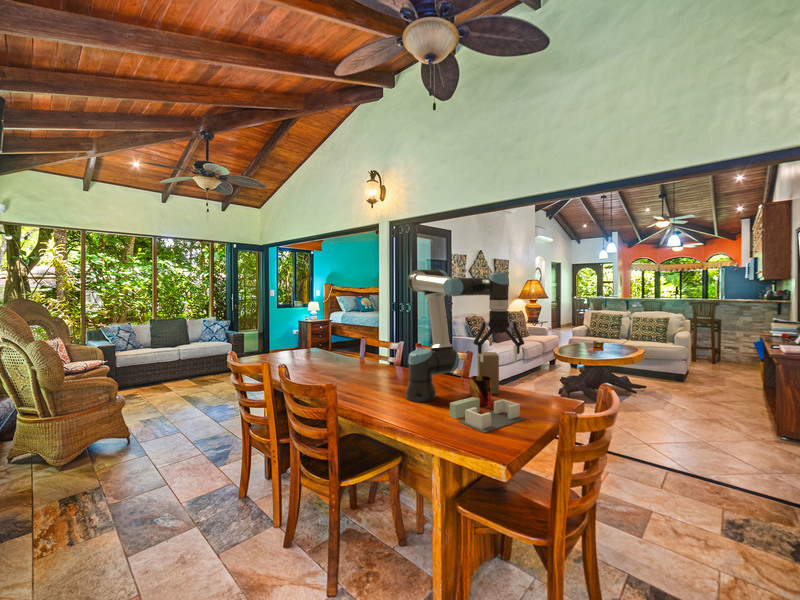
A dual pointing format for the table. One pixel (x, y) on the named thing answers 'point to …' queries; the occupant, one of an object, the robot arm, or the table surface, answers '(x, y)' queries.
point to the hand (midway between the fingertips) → (498, 361)
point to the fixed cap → (477, 418)
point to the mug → (481, 389)
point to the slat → (463, 407)
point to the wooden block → (490, 369)
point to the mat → (496, 422)
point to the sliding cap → (507, 408)
